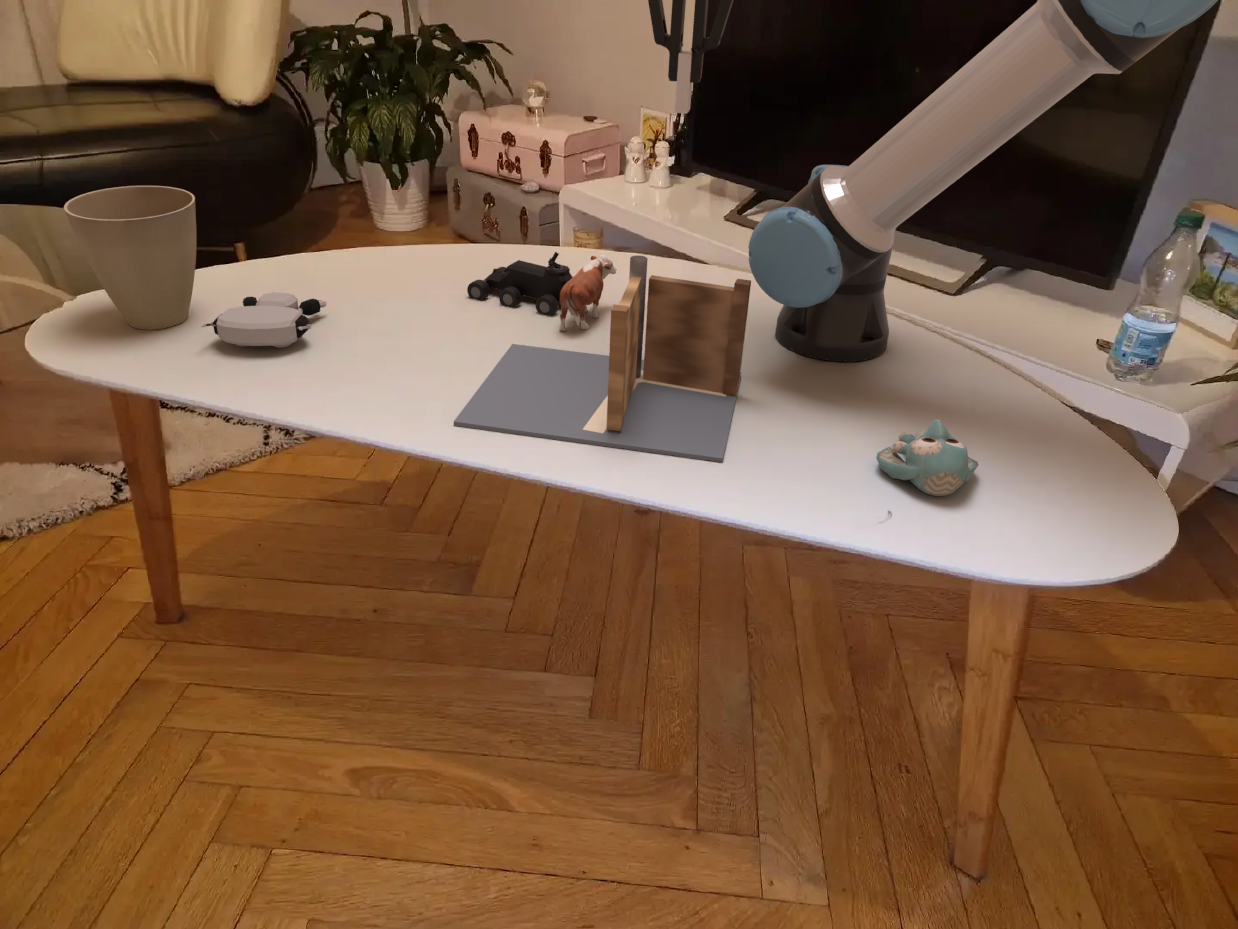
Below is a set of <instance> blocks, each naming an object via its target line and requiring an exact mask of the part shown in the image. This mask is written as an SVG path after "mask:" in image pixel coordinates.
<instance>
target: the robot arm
mask: <svg viewBox="0 0 1238 929" xmlns="http://www.w3.org/2000/svg"><path fill="white" fill-rule="evenodd" d="M1218 1H1219V0H1037V1H1036V2H1035V3H1034V4H1033V5H1032V6H1030V8H1029V9H1027V10H1026V11H1025V12H1024V13H1023V14H1021V16H1020V17H1018V18H1017V19H1016V20H1015V21H1014V22H1013V23H1012V24H1010V25H1009V26H1008V27H1007V28H1006V29H1005V30H1003V31H1002V32H1001V33H1000V34H999V35H998V36H996V37H995V38H994V39H993V40H992V41H991V42H990V43H989V44H987V45H986V46H985V47H984V48H983V49H981V51H979V52H978V53H977V54H976V55H975V56H973V57H972V58H971V59H970V60H969V61H968V62H967V63H965V64H964V65H963V66H962V67H961V68H960V69H959V70H958V71H956V72H955V73H954V74H952V76H950V77H949V78H948V79H947V80H945V81H944V83H942V84H941V85H940V86H939V87H938V88H936V90H935V91H933V93H931V94H930V95H929V96H928V97H926V98H925V99H924V100H923V101H922V102H921V103H920V104H918V105H917V106H916V107H915V108H914V109H913V110H912V111H911V112H909V113H908V114H907V115H906V116H905V117H903V119H901V120H900V121H899V122H898V123H896V125H894V126H893V127H892V128H890V130H888V132H886V134H884V135H883V136H882V137H880V138H879V140H877V141H876V142H875V143H874V144H872V146H870V147H869V148H868V149H867V150H865V152H863V153H862V154H861V155H860V156H859V157H858V158H856V159H855V160H854V161H853V162H852V163H851V164H849V165H840V164H819V165H817V166H815V167H814V168H813V169H812V170H811V175H810V178H809V180H808V183H807V184H806V185H805V186H804V187H803V188H802V189H801V190H800V191H799V192H797V193H796V194H795V195H794V196H793V197H792V198H791V199H789V200H788V201H787V202H786V203H785V204H783V205H782V206H780V207H778V208H775V209H773V210H770V211H769V212H767V213H766V214H765V215H764V216H763V217H762V219H761V220H760V221H759V222H758V223H757V224H756V225H755V227H754V229H753V231H752V232H751V236H750V239H749V241H748V242H749V243H748V264H749V267H750V271H751V274H752V275H753V278H754V280H755V282H756V283H757V285H758V286H759V287H760V289H761V290H762V291H763V292H764V293H765V294H766V295H767V296H768V297H769V298H771V299H772V300H773V301H775V302H777V303H779V304H780V305H782V308H781V310H780V311H779V313H778V316H777V319H776V325H775V334H774V335H775V337H776V339H777V341H778V342H779V343H780V344H781V345H783V347H785V348H787V349H788V350H791V351H792V352H795V353H798V354H800V355H803V356H806V357H810V358H814V359H817V360H823V361H824V360H825V361H829V362H830V361H831V362H845V363H846V362H847V363H848V362H850V363H851V362H860V361H861V362H863V361H868V360H870V359H875V358H877V357H879V356H881V355H882V354H883V353H884V352H885V351H886V350H887V345H888V339H889V336H890V328H889V320H888V315H887V314H888V313H887V308H886V307H887V306H886V298H885V288H886V287H885V286H886V281H887V277H888V271H889V268H890V262H891V261H890V260H891V257H892V251H893V248H894V247H893V246H894V241H895V237H896V232H897V228H898V226H900V225H901V224H902V223H904V222H906V220H907V219H909V218H910V217H912V216H913V215H914V214H916V212H918V211H919V210H921V209H922V208H923V207H924V206H925V205H927V204H929V202H931V201H932V200H933V199H934V198H935V197H937V196H938V195H939V194H941V193H942V192H944V191H945V190H946V189H947V188H948V187H950V186H951V185H953V184H954V183H955V182H957V180H959V179H960V178H962V177H963V176H964V175H965V174H966V173H968V172H969V171H971V169H973V168H974V167H976V166H977V165H978V164H979V163H981V162H982V161H983V160H985V159H986V158H987V157H988V156H990V155H991V154H993V153H994V152H995V151H996V150H997V149H999V148H1000V147H1001V146H1003V145H1004V144H1005V143H1007V142H1008V141H1009V140H1010V139H1013V137H1014V136H1016V135H1017V134H1018V133H1020V132H1021V131H1022V130H1023V129H1024V128H1026V127H1027V126H1028V125H1030V124H1031V123H1033V122H1034V121H1035V120H1036V119H1037V118H1039V117H1040V116H1041V115H1043V114H1044V113H1045V112H1046V111H1048V110H1049V109H1050V108H1052V107H1053V106H1055V105H1056V103H1058V102H1059V101H1061V100H1062V99H1063V98H1064V97H1066V96H1067V95H1068V94H1070V93H1071V92H1072V91H1073V90H1075V89H1076V88H1077V87H1079V86H1080V85H1081V84H1083V83H1084V82H1085V81H1086V80H1088V78H1090V77H1092V75H1095V74H1108V75H1109V74H1111V75H1112V74H1113V75H1120V74H1122V73H1123V72H1125V70H1127V69H1128V68H1130V67H1131V66H1133V64H1135V63H1136V62H1137V61H1139V60H1140V59H1141V58H1143V57H1144V56H1146V55H1147V54H1148V53H1150V52H1151V51H1152V50H1153V49H1155V48H1157V47H1158V46H1159V45H1161V43H1162V42H1164V41H1165V40H1167V39H1168V38H1169V37H1170V36H1172V35H1173V34H1175V33H1176V32H1177V31H1179V29H1181V28H1183V27H1185V26H1187V25H1189V24H1190V23H1192V22H1194V21H1195V20H1197V19H1198V18H1200V17H1201V16H1202V15H1204V14H1205V13H1206V12H1207V11H1209V10H1210V9H1211V8H1212V7H1213V6H1214V5H1215V4H1216V3H1217V2H1218ZM647 2H648V8H649V14H650V15H649V16H650V21H651V27H652V32H653V34H652V35H653V40H654V42H655V44H656V45H659V46H662V47H663V48H665V49H667V50H668V53H669V55H668V59H669V60H668V74H667V77H668V81H669V82H676V86H675V88H676V89H675V90H676V91H675V104H674V113H676V114H677V113H678V114H688V113H689V112H690V110H691V104H692V102H691V100H692V90H693V84H699V82H701V79H702V77H703V75H702V74H703V66H704V55H705V52H706V51H710V50H714V49H716V48H717V47H718V46H719V45H720V44H721V41H722V37H723V35H724V32H725V29H726V25H727V22H728V18H729V16H730V13H731V9H732V6H733V3H734V0H720V1H719V5H718V8H717V11H716V14H715V18H714V20H713V24H712V27H711V31H710V33H709V36H707V37H706V33H707V21H708V10H709V0H694V12H693V24H692V39H691V47H690V50H683V49H682V48H683V47H684V34H685V32H684V30H685V16H686V3H687V0H672V3H671V14H670V15H671V17H670V32H669V33H668V29H667V23H666V22H667V20H666V14H665V8H664V7H665V6H664V2H663V0H647Z"/></svg>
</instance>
